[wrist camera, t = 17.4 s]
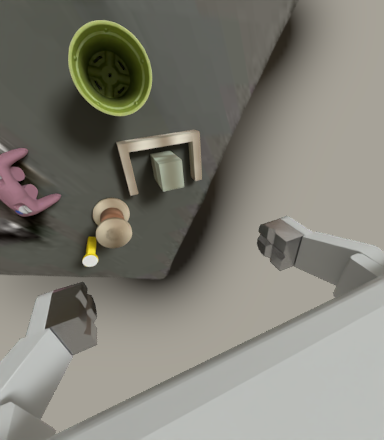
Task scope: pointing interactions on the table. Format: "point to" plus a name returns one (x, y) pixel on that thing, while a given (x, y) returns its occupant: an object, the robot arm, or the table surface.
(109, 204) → the bobbin
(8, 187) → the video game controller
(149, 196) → the table surface
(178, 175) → the block
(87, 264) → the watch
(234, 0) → the table surface
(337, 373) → the robot arm
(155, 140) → the beige u-shaped bracket
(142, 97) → the plant pot
